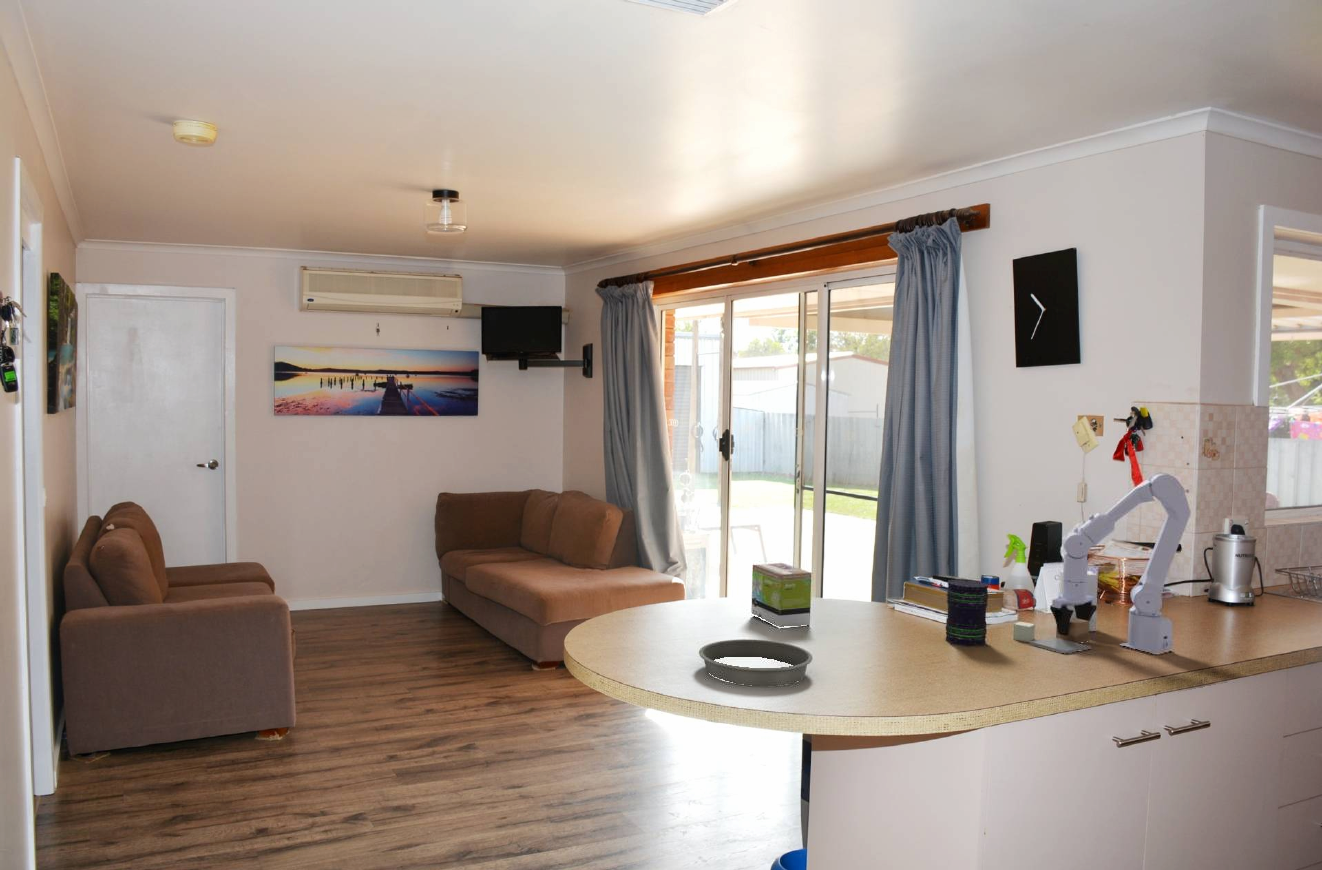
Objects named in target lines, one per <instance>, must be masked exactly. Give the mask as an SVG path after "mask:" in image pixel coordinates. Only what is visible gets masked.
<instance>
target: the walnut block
mask: <svg viewBox="0 0 1322 870" xmlns="http://www.w3.org/2000/svg"><path fill="white" fill-rule="evenodd" d="M1055 628H1056V629H1055V630H1056V633H1055V634H1056V635H1055V637H1056V638H1060V639H1064V640H1067V641H1071V642H1075V643H1081V642H1087V641H1089V642H1090V639H1089V637H1090V631H1089V621H1087V620H1082V619H1078V618H1074V617H1071V619H1070V622H1069V629H1068V634H1067V636H1064V635H1060V634H1059V633H1058V629H1057V627H1055ZM1087 643H1088V642H1087ZM1081 644H1082V643H1081Z"/></svg>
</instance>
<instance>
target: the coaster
mask: <svg viewBox="0 0 1322 870" xmlns="http://www.w3.org/2000/svg"><path fill="white" fill-rule="evenodd" d="M1029 645H1030V646H1033V647H1036V646H1037V647H1038V648H1041V649H1044V648H1045V650H1047V649H1048V651H1051V650H1053V651H1052V652H1055V651H1056V652H1055V653H1059V654H1062V653H1064V654H1063V655H1066V654H1065V653H1069V654H1073V653H1072V652H1075V653H1077V652H1076V651H1079V650H1086V649H1090V648H1092V647H1091V646H1089V645H1087V644H1084V643H1081V644H1079V643H1075V642H1071V641H1067V640H1064V639H1060V638H1056V636H1054V637H1050V638H1049V637H1048V638H1044V639H1037V640H1032V641H1030V642H1029Z"/></svg>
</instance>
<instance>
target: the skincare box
mask: <svg viewBox="0 0 1322 870" xmlns="http://www.w3.org/2000/svg"><path fill="white" fill-rule="evenodd" d="M1098 576H1099V575H1098V574H1097V573H1095V572H1093V571H1091V570H1088V571H1087V592H1086V595H1091V596H1095V604H1092V605H1095V606H1097V607H1098V603H1097V602H1098V601H1097V598H1098V597H1097V596H1098ZM1062 585H1063V569H1060V570H1059V590H1058V591H1059V592H1058V596H1059V595H1062ZM1067 608H1068V609H1070V610H1073V611H1074V612H1073V614H1072V616H1071V617H1074V618H1076V612H1075V608H1074V606H1067ZM1097 611H1098V608H1097V609H1096V611H1095V612H1094V614H1093V615H1092V617H1091V619H1090V622H1089V632H1093V631H1096V632H1097Z"/></svg>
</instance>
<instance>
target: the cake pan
mask: <svg viewBox="0 0 1322 870" xmlns="http://www.w3.org/2000/svg"><path fill="white" fill-rule="evenodd" d="M698 655H699V657H700V658H701V659H702V660H703V661H704V664H705V665H704V666H705V669H706V670H707V671H708V673H710V674H711V675H713V676H714V677H717V678H719V679H723V680H725V681H729V682H733V683H736V684H735V685H737V684H744V685H752V686H751V687H755V686H775V687H781V686H780V685H784V686H786V685H785V684H790V685H793V684H792V683H794V684H796V683H795V682H797V681H799V682H801V681H802V680H803V679H804V678H805V675H806V672H807V667H808V665H810V664H811V662H812V661H813V655H812V654H811V652H809V651H808V650H806V649H804V648H802V647H800V646H797V645H794V644H791V643H785V642H781V641H775V640H765V639H750V638H749V639H745V638H743V639H730V640H729V639H728V640H721V641H715V642H711V643H708V644H706V645H704V646H702V647H701V648H699V650H698ZM724 657H762V658H767V659H774V660H777V661H780V662H785V663H788V664H791V665H793V666H789V667H781V668H749V667H739V666H732V665H727V664H723V663H719V662H716V661H714V660H715V659H720V658H724ZM706 670H705V671H706ZM707 671H706V672H707ZM708 673H707V674H708ZM801 679H802V680H801ZM800 680H801V681H800ZM797 683H798V682H797ZM744 685H743V686H744ZM778 685H779V686H778Z"/></svg>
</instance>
